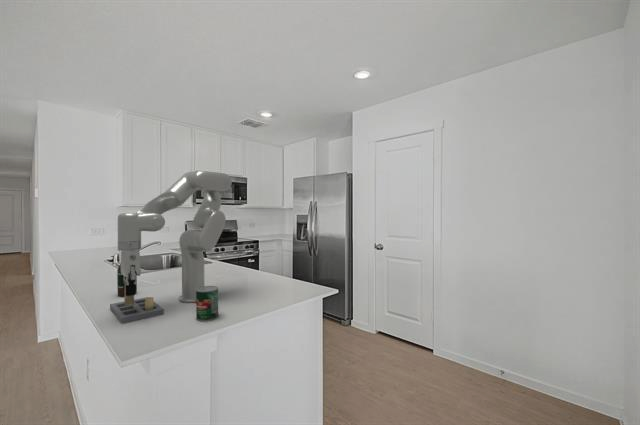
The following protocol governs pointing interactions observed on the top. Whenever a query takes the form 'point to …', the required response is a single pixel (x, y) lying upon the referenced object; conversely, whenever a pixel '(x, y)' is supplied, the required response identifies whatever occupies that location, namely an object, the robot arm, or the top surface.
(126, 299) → the beech pin
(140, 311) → the peg board
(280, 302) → the top surface
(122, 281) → the beer bottle
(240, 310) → the top surface
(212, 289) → the canned tomato
